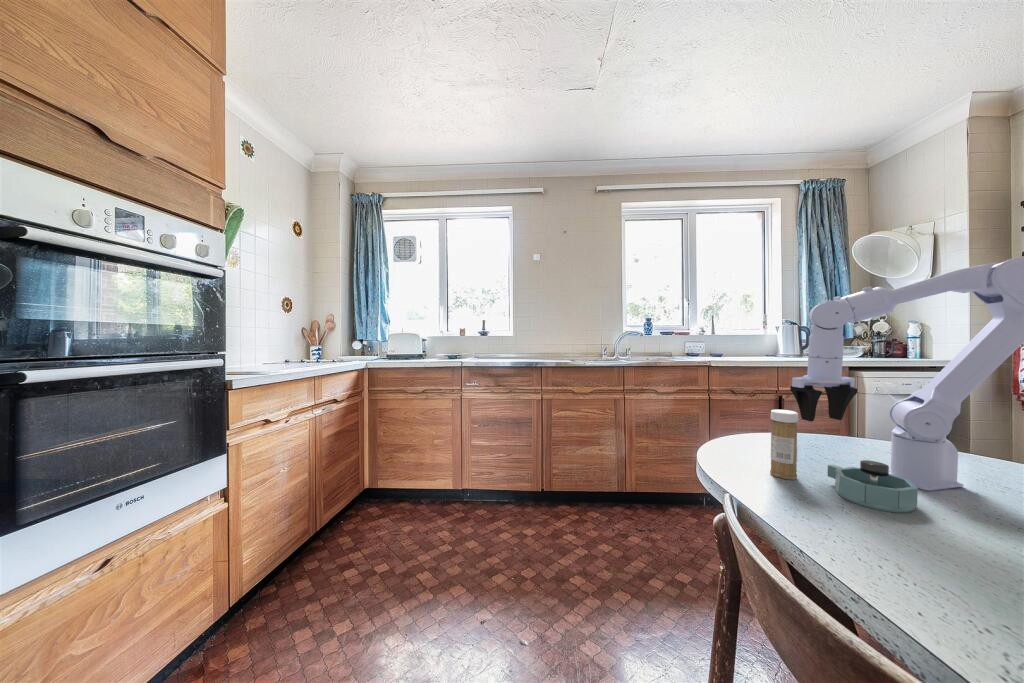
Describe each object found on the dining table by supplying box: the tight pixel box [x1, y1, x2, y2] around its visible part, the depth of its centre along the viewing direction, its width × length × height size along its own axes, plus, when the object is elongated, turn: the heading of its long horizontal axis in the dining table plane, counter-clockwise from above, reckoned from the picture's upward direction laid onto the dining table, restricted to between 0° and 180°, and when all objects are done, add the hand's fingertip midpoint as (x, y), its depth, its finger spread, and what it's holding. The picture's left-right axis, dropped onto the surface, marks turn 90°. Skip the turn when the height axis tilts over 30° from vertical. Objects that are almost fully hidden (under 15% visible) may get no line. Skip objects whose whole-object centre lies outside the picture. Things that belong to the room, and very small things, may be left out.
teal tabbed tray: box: [827, 464, 919, 514], centre depth 67 cm, size 10×12×4 cm
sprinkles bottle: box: [769, 409, 799, 481], centre depth 76 cm, size 5×5×14 cm
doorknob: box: [859, 459, 890, 487], centre depth 66 cm, size 7×7×5 cm
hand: (821, 419), depth 81 cm, fingers open, 7 cm apart
